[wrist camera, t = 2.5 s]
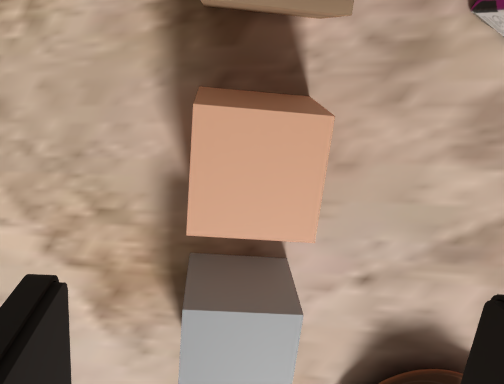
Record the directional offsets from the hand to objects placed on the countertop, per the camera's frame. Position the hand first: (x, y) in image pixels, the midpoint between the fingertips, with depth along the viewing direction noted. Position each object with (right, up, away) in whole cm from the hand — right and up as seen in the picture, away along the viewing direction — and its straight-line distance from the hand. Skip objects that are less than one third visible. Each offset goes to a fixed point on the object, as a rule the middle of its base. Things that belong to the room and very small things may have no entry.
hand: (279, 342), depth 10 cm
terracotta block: (-1, +6, +15) cm, 17 cm away
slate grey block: (-2, -3, +19) cm, 19 cm away
